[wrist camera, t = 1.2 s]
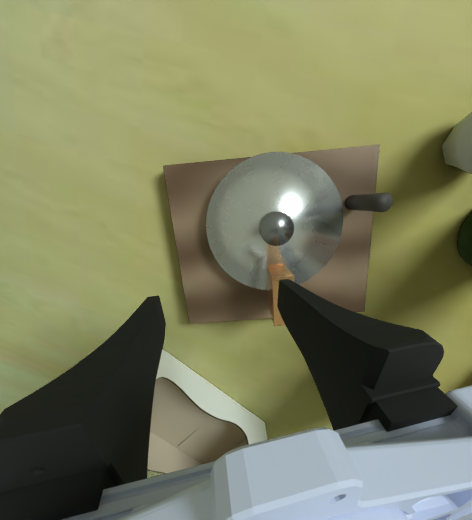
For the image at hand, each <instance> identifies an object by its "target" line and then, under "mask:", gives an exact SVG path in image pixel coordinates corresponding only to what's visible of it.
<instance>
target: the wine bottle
mask: <svg viewBox="0 0 472 520" xmlns="http://www.w3.org/2000/svg"><path fill="white" fill-rule="evenodd" d="M458 249H459V252H460V255H461V256H462V257H463V259H464V260H465V261H466V262H467V263H468V264H470V265H472V213H471V214H470V215H469V216H468V218H467V219H466V221H465V222H464V223H463V225H462V227H461V230H460V232H459V235H458Z"/></svg>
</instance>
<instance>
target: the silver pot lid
mask: <svg viewBox="0 0 472 520" xmlns="http://www.w3.org/2000/svg"><path fill="white" fill-rule="evenodd" d="M342 228H343V207H342V202H341V198H340V195H339V193H338V190H337V188H336V186H335V184H334V183H333V181H332V180H331V178H330V177H329V176H328V175H327V173H326V172H325V171H324V170H323V169H322V168H320V167H319V166H318V165H317V164H315V163H314V162H312V161H311V160H309V159H307V158H304V157H302V156H300V155H296V154H292V153H285V152H270V153H264V154H260V155H257V156H254V157H251V158H249V159H247V160H245V161H243V162H241V163H240V164H238V165H237V166H235V167H234V168H233V169H232V170H231V171H230V172H228V173H227V174H226V176H225V177H224V178H223V179H222V180H221V182H220V183H219V185H218V186H217V187H216V189H215V191H214V193H213V195H212V197H211V200H210V203H209V206H208V211H207V217H206V232H207V238H208V243H209V246H210V249H211V251H212V253H213V255H214V257H215V259H216V260H217V262H218V263H219V265H220V266H221V267H222V268H223V270H224V271H225V272H226V273H228V274H229V275H230V276H231V277H232V278H234V279H235V280H237V281H238V282H240V283H242V284H244V285H247V286H250V287H252V288H257V289H262V290H268V305H269V309H270V313H271V316H272V320H273V323H274V326H281V325H285V323H284V321H283V319H282V317H281V315H280V312H279V310H278V307H277V302H278V288H279V280H283V279H290V280H292V281H294V282H295V283H297V284H301V283H303V282H305V281H307V280H309V279H310V278H311V277H313V276H314V275H316V274H317V273H318V272H319V271H320V270H321V269H322V268H323V267H324V266H325V265H326V264H327V263H328V261H329V260H330V258H331V257H332V256H333V254H334V252H335V250H336V248H337V246H338V243H339V241H340V237H341V233H342Z"/></svg>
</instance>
